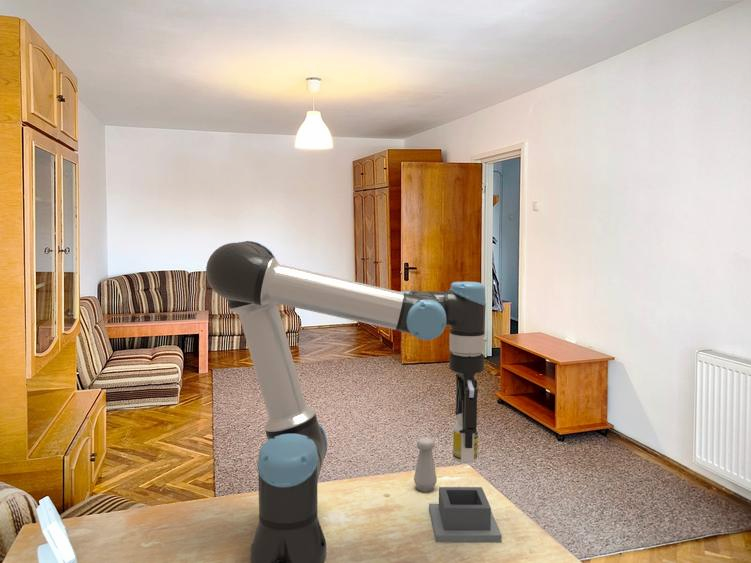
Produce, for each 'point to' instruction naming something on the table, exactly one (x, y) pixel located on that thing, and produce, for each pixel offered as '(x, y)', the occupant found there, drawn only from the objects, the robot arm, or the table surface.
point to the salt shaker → (425, 466)
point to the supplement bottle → (458, 440)
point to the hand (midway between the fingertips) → (464, 455)
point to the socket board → (463, 516)
